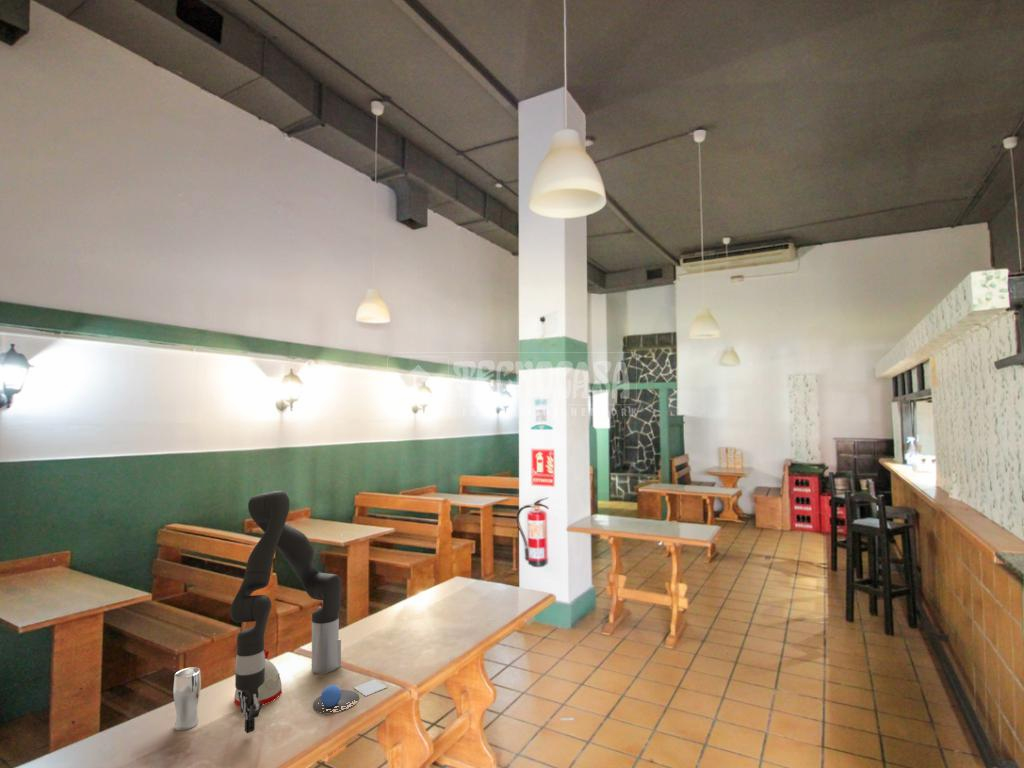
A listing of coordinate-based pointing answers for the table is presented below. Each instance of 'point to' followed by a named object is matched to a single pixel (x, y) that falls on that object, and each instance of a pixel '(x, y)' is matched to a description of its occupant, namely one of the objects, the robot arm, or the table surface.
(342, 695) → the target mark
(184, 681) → the beer glass
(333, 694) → the ball
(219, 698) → the table surface
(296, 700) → the table surface
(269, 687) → the kitchen timer
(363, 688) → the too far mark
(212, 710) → the table surface
